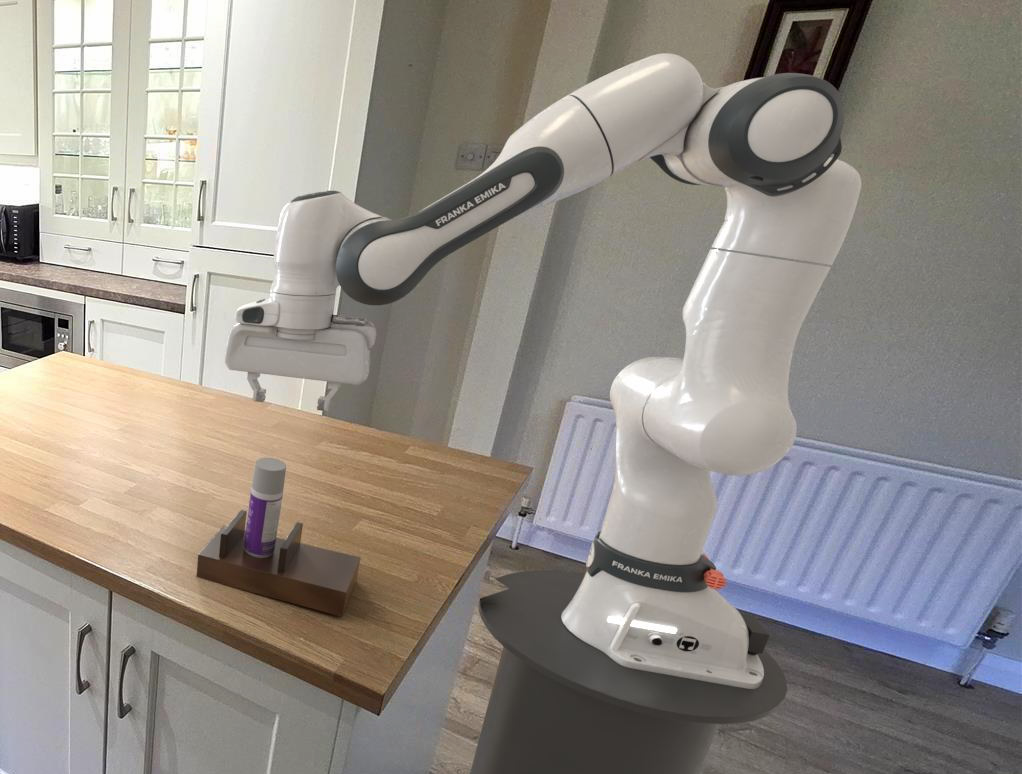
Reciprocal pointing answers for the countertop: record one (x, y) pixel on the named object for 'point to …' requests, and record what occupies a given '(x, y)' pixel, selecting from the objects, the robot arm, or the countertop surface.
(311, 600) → the brown two-slot stand
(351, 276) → the robot arm
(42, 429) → the countertop surface
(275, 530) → the container
